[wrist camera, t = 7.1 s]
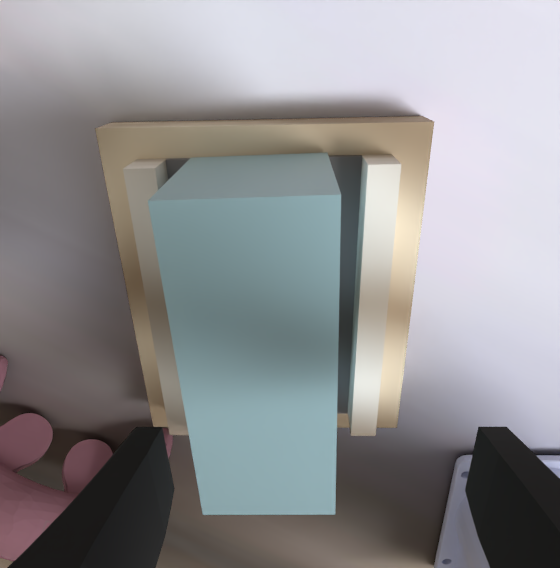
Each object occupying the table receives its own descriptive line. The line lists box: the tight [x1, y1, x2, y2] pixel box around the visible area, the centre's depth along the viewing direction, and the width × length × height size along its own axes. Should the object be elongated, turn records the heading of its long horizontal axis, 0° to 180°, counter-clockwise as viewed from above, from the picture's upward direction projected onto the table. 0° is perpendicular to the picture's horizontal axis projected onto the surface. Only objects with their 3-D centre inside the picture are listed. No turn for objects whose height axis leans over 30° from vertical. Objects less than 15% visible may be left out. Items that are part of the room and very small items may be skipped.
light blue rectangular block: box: [148, 153, 341, 515], centre depth 15 cm, size 11×4×5 cm, turn 2°
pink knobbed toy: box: [0, 356, 173, 561], centre depth 21 cm, size 10×5×7 cm, turn 59°
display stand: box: [95, 116, 434, 436], centre depth 18 cm, size 13×11×3 cm
